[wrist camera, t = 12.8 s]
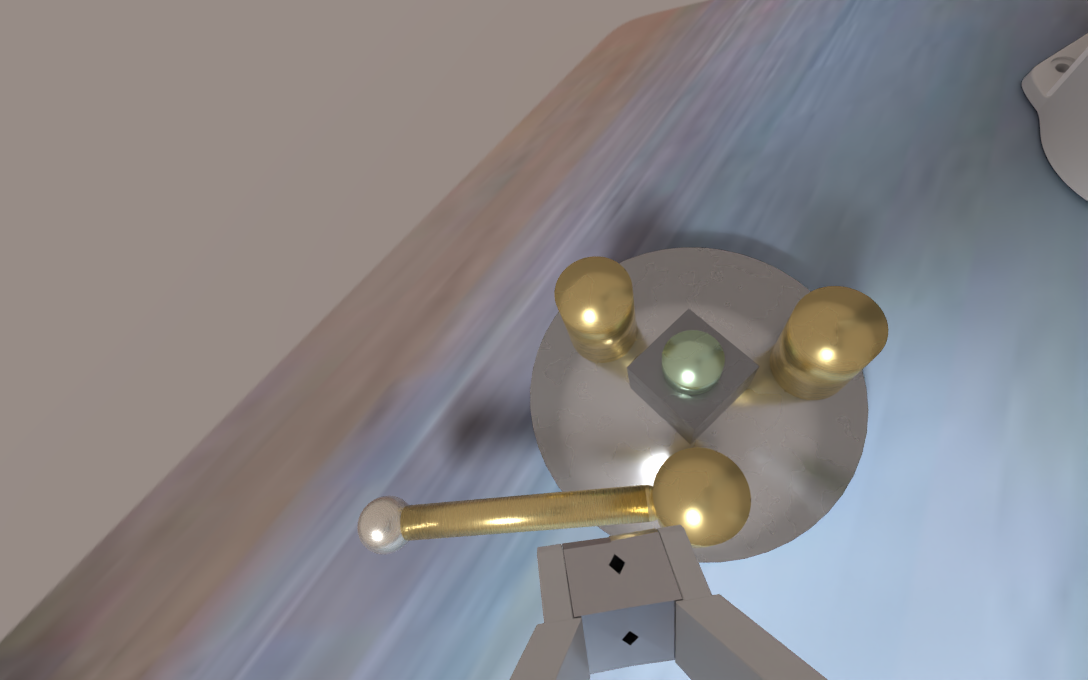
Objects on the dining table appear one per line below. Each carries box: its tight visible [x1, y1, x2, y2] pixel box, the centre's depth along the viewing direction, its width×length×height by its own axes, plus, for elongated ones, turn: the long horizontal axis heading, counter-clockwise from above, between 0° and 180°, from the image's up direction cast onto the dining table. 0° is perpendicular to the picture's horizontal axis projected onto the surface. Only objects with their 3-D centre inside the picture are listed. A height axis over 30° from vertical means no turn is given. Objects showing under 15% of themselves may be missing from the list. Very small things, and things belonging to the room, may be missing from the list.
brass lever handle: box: [357, 447, 751, 554], centre depth 29 cm, size 20×4×6 cm, turn 94°
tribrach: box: [530, 248, 888, 562], centre depth 31 cm, size 20×20×8 cm
